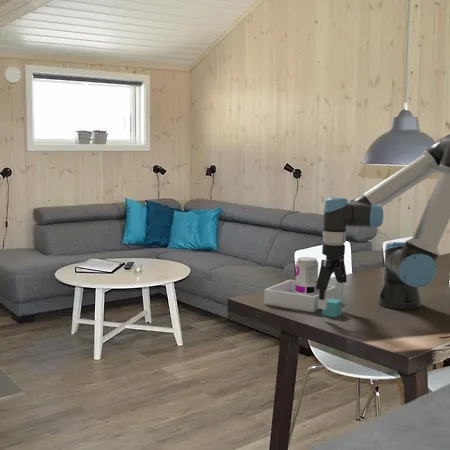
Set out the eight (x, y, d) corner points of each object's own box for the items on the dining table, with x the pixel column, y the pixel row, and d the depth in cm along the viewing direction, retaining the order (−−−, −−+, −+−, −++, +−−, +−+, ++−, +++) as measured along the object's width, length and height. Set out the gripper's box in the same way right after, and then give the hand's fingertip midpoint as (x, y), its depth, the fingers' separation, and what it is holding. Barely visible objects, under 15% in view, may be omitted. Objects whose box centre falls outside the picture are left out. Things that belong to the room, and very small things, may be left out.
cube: (341, 314, 217) (341, 300, 217) (335, 317, 213) (336, 303, 213) (327, 312, 220) (328, 298, 219) (322, 315, 216) (322, 301, 215)
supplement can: (294, 300, 232) (295, 260, 230) (296, 295, 240) (297, 256, 238) (316, 302, 231) (317, 261, 229) (317, 296, 239) (318, 257, 237)
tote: (336, 300, 235) (336, 286, 235) (313, 312, 219) (314, 297, 218) (289, 293, 246) (289, 279, 245) (264, 304, 230) (264, 289, 229)
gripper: (338, 237, 226) (335, 295, 229) (307, 246, 205) (304, 310, 208) (358, 240, 222) (354, 299, 225) (329, 249, 201) (325, 314, 204)
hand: (330, 304), depth 216 cm, fingers open, 13 cm apart
